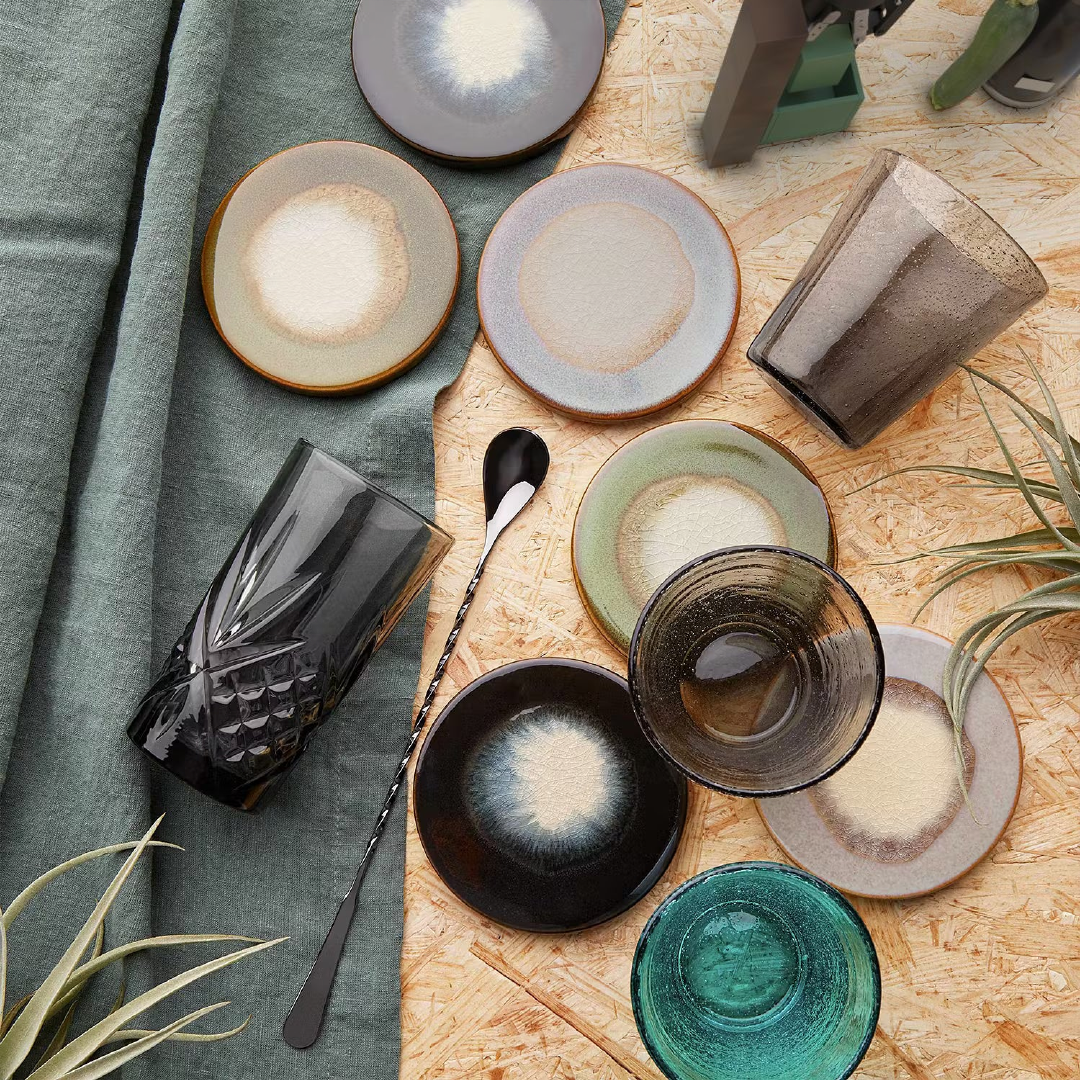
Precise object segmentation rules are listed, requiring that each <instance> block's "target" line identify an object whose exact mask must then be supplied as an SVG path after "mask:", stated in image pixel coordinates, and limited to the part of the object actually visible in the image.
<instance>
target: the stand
mask: <svg viewBox="0 0 1080 1080" xmlns="http://www.w3.org/2000/svg"><path fill="white" fill-rule="evenodd" d="M808 36H809V31H808V27H807V23H806V18H805V14H804V10H803V6H802V1H801V0H742V4H741V7H740V10H739V12H738V16H737V18H736V21H735V23H734V28H733V30H732V33H731V36H730V40H729V42H728V45H727V48H726V51H725V54H724V57H723V61H722V63H721V66H720V69H719V72H718V74H717V78H716V81H715V84H714V86H713V89H712V93H711V96H710V98H709V101H708V105H707V108H706V111H705V114H704V117H703V120H702V122H701V125H700V128H699V129H700V134H701V139H702V144H703V149H704V153H705V157H706V162H707V167H708V169H709V170H710V169H715V168H716V169H717V168H721V167H726V166H727V167H728V166H733V165H739V164H744V163H749V162H752V159H753V157H754V155H755V153H756V151H757V148H758V146H759V142H760V140H761V138H762V136H763V133H764V131H765V129H766V127H767V125H768V123H769V120H770V118H771V116H772V114H773V112H774V110H775V108H776V105H777V103H778V101H779V99H780V97H781V95H782V92H783V90H784V88H785V86H786V84H787V82H788V79H789V77H790V75H791V73H792V71H793V69H794V67H795V64H796V62H797V60H798V58H799V56H800V54H801V51H802V49H803V47H804V45H805V43H806V41H807V38H808Z"/></svg>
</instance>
